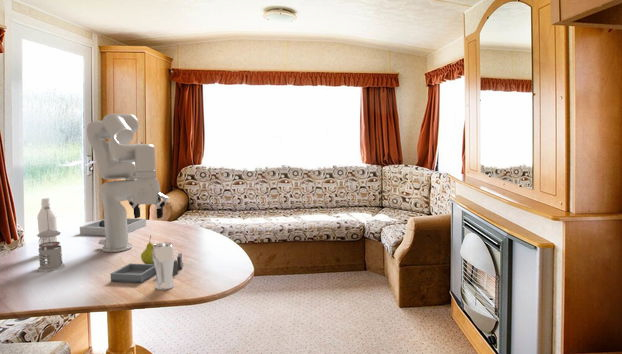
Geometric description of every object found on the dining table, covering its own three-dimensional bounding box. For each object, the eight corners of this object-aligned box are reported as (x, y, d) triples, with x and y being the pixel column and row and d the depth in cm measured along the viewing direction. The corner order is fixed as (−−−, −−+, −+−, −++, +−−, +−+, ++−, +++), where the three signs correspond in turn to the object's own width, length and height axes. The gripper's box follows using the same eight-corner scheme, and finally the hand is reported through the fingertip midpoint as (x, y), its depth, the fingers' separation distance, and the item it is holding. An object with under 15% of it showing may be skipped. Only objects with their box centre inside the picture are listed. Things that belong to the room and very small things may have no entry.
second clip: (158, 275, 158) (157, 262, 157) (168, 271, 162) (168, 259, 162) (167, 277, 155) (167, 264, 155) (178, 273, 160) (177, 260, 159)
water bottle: (62, 253, 188) (58, 198, 186) (46, 257, 182) (42, 200, 179) (52, 251, 191) (48, 197, 189) (36, 255, 185) (31, 199, 182)
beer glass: (167, 281, 151) (165, 241, 149) (179, 285, 147) (177, 244, 146) (150, 287, 145) (147, 245, 144) (162, 292, 141) (160, 248, 140)
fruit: (153, 268, 167) (152, 238, 165) (138, 267, 168) (136, 238, 167) (162, 262, 174) (161, 234, 172) (147, 261, 175) (145, 233, 173)
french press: (44, 273, 162) (39, 209, 159) (29, 268, 168) (24, 206, 165) (70, 266, 170) (66, 205, 167) (55, 261, 176) (50, 202, 173)
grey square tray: (111, 281, 152) (110, 273, 151) (130, 270, 163) (129, 263, 163) (141, 283, 150) (141, 275, 149) (158, 272, 162) (158, 264, 161)
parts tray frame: (80, 234, 223) (79, 226, 223) (108, 224, 247) (108, 217, 246) (121, 235, 219) (121, 228, 219) (146, 225, 243) (145, 218, 242)
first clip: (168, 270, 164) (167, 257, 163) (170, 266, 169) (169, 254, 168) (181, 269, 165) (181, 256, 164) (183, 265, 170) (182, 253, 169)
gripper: (120, 176, 164) (123, 219, 166) (161, 176, 162) (164, 220, 163) (131, 174, 172) (134, 215, 173) (171, 174, 169) (173, 216, 171)
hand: (148, 217), depth 168 cm, fingers open, 9 cm apart
